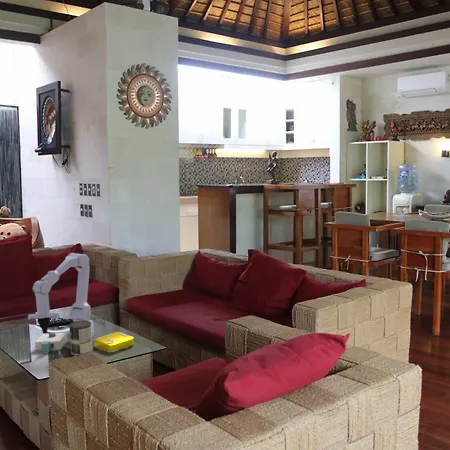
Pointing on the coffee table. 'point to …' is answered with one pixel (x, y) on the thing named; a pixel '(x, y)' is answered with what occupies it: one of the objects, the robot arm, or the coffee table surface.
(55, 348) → the housing
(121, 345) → the element tile
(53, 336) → the plunger
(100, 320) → the coffee table surface
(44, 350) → the block
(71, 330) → the coffee can
